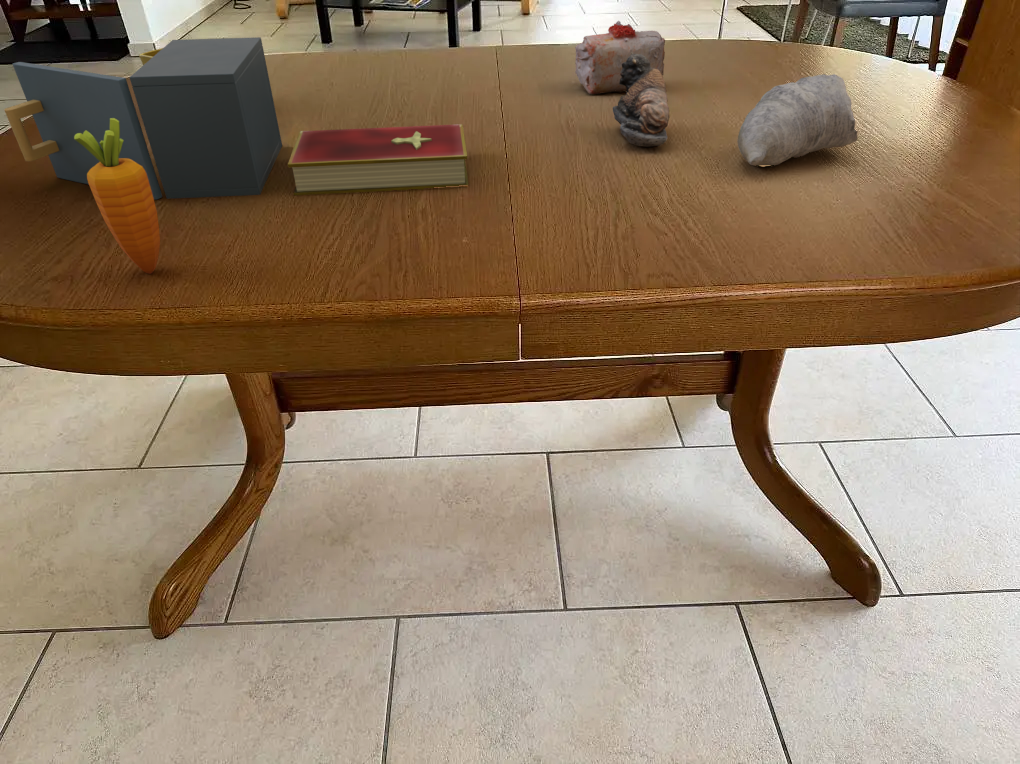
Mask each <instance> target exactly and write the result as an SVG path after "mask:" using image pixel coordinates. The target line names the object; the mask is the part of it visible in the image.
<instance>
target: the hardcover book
mask: <svg viewBox="0 0 1020 764" xmlns="http://www.w3.org/2000/svg"><path fill="white" fill-rule="evenodd" d="M466 160H468V153H467V145H466V138H465V131H464V125H463V123H459V124H458V123H456V124H438V125H437V124H435V125H433V124H432V125H411V126H389V127H368V128H365V127H364V128H343V129H320V130H299V133H298V136H297V138H296V141H295V144H294V146H293V149H292V151H291V154H290V157H289V160H288V162H287V167H288V168H292V173H293V178H294V183H295V187H294V189H293V193H292V195H293V196H307V195H308V196H310V195H311V196H312V195H313V196H314V195H328V194H329V195H332V194H352V193H373V192H374V193H376V192H393V191H392V190H397V191H409V190H408V189H418V190H425V189H424V188H434V187H446V186H459V185H469V178H468V171H467V170H468V169H467V163H466Z"/></svg>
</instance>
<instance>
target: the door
mask: <svg viewBox="0 0 1020 764" xmlns="http://www.w3.org/2000/svg"><path fill="white" fill-rule="evenodd" d="M12 67H13V69H14V72H15V74H16V77H17V80H18V82H19V85H20V87H21V90H22V91H23V95H24V97H25V100H26V101H24V102H21V103H19V104H15V105H12V106H8V107H6V108H4V109H3V110H4V113H5V116H6V118H7V120H8V123H9V125H10V127H11V131H12V132H13V135H14V137H15V139H16V141H17V145H18V146H19V150H20V151H21V153H22V156H23V158H24V162H34V161H36V160H39V159H42V158H44V157H47V156H48V159H49V161H50V163H51V165H52V168H53V170H54V171H53V172H54V173H55V175H56V178H57V179H61V180H66V181H71V182H75V183H80V184H84V185H85V184H86V185H89V183H88V180H87V173H88V172H89V170H90V169H91V168H92V167H94V166H95V165H96V164H97V163H99V162H100V161H99V160H98V159H97V158H96V157H95V156H94V155H92V154H91V153H90V152H89V151H88V150H87V149H86V148H85V147H84V146H83V145H81V144H80V143H79V142H77V141H76V140H75V139H74V136H75V134H77V133H81V134H83V133H84V131H85V130H86V131H88V132H89V133H90V134H91V135H92V136H93V137H94V138H95V139H96V141H97V142H98V144H99V145H100V142H101V140H102V141H104V135H105V131H107V130H110V118H115V119H117V120H118V121H119V125H120V139H122V140H124V141H123V145H122V148H121V151H120V154H119V158H128V159H131V160H133V161H134V162H136V163H138V164H139V165H141V166H142V167H143V168H144V170H145V172H146V174H147V177H148V181H149V184H150V187H151V191H152V194H153V198H154V201H155V200H156V201H157V200H159V199H161V198H163V194H162V190H161V187H160V184H159V181H158V177H157V174H156V171H155V168H154V165H153V161H152V158H151V155H150V152H149V149H148V145H147V141H146V138H145V136H144V133H143V129H142V126H141V122H140V120H139V116H138V113H137V111H136V107H135V103H134V100H133V97H132V94H131V90H130V87H129V84H128V80H127V78H126V77H123V76H116V75H109V74H102V73H97V72H96V73H95V72H91V71H90V72H89V71H83V70H77V69H70V68H63V67H56V66H49V65H42V64H36V63H30V62H24V61H18V62H17V61H16V62H14V63H12ZM29 116H32V117H33V121H34V123H35V126H36V128H37V130H38V133H39V135H40V139H41V140H42V142H39V143H37V144H34V145H32V143H31V142H30V139H29V135H28V134H27V131H26V129H25V127H24V124H23V122H22V119H24V118H27V117H29ZM100 147H101V145H100ZM101 149H102V147H101ZM102 150H103V149H102ZM103 152H104V151H103Z"/></svg>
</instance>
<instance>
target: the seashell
mask: <svg viewBox="0 0 1020 764" xmlns="http://www.w3.org/2000/svg"><path fill="white" fill-rule="evenodd" d="M855 127H856V119H855V117H854V111H853V110H852V98H851V97H850V95H849V94H848V91H847V86H846V83H845V80H844V78H843V77H841V76H840V75H838V74H835V73H833V74H825V73H823V74H817V75H813V76H810V75H809V76H806V77H805V76H804V77H800V78H799V79H798V80H796V82H787V83H784V84H779V85H775V86H773V87H771V89H769V90H768V91H766V92H765V93H764V94H763V95H762V96H761V98H760V100H758V102H757V103H756V104H755V107H754V108H752V109H751V110H750V111H749V112H748V113H747V114H746V115H745V118H744V120H743V123H742V124H741V125H740V128H739V132H738V134H737V135H738V136H737V148H738V150H739V152H740V155H741V156H742V158H743V159H744V160H745V161H746V162H747V163H748V164H749V165H750V166H755V167H757V166H756V165H774V166H779V165H781V164H782V163H784V162H785V161H788V160H789V159H792V158H791V157H796V158H801V157H803V156H806V155H807V154H810V153H814V152H817V151H820V150H823V149H833V148H843V147H845V146H848V145H851V144H853V143H856V142H857V141H858V139H859V138H858V132H859V131H858V130H856V128H855ZM809 152H810V153H809ZM800 156H801V157H800Z"/></svg>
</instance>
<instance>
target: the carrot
mask: <svg viewBox="0 0 1020 764" xmlns="http://www.w3.org/2000/svg"><path fill="white" fill-rule="evenodd" d="M74 139H75V140H76V141H77V142H79V143H80V144H81V145H83V146H84V147H85V148H86V149H87V150H88V151H89V152H90V153H91V154H92V155H94V156H95V157H96V158H97V159H98V160H99V161H100V162H99V163H97V164H96V165H95V166H94V167H92V168H91V169H90V170H89V172H88V173H87V180H88V183H89V188H90V190H91V193H92V196H93V198H94V200H95V201H94V202H95V203H96V205H97V208H98V209H99V211H100V212H99V213H100V214H101V216H102V219H103V221H104V223H105V224H106V227H107V229H108V230H109V231H110V233H111V235H112V236H113V238H114V240H115V241H116V243H117V244H118V246H119V247H120V249H121V250H122V251H123V253H125V255H126V257H128V258H129V260H130V261H131V262H132V263H134V264H135V265H136V266H137V267H138V268H139V269H140V270H141V271H142V272H143V273H146V274H148V275H151V274H153V273H154V271H155V270H156V268H157V264H158V261H159V255H160V249H161V248H160V247H161V246H160V245H161V237H160V236H161V235H160V225H159V217H158V210H157V206H156V203H155V199H154V198H153V194H152V191H151V187H150V184H149V181H148V177H147V174H146V172H145V170H144V168H143V167H142V166H141V165H139V164H138V163H136V162H134V161H133V160H131V159H128V158H119V154H120V151H121V148H122V145H123V141H124V140H122V139H120V125H119V121H118V120H117V119H115V118H110V130H107V131H105V135H104V141H102V140H101V142H100V145H101V147H102V149H103V150H102V149H101V147H100V145H99V144H98V142H97V141H96V139H95V138H94V137H93V136H92V135H91V134H90V133H89V132H88V131H86V130H85V131H84V133H83V134H81V133H77V134H75V136H74ZM103 151H104V152H103Z"/></svg>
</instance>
